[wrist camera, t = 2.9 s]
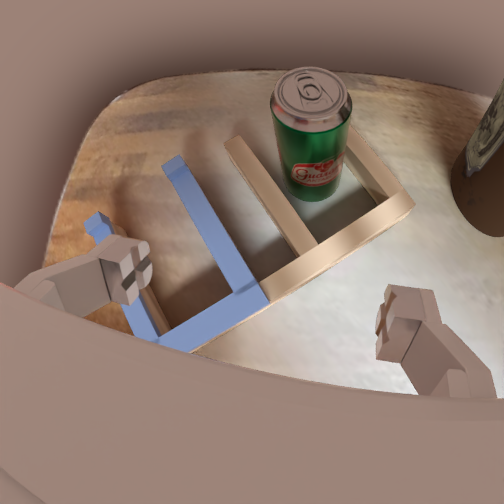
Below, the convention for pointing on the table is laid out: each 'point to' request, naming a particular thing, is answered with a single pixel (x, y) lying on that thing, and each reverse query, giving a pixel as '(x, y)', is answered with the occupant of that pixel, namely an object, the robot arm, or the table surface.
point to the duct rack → (294, 230)
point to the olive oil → (483, 172)
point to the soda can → (311, 130)
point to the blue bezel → (226, 256)
